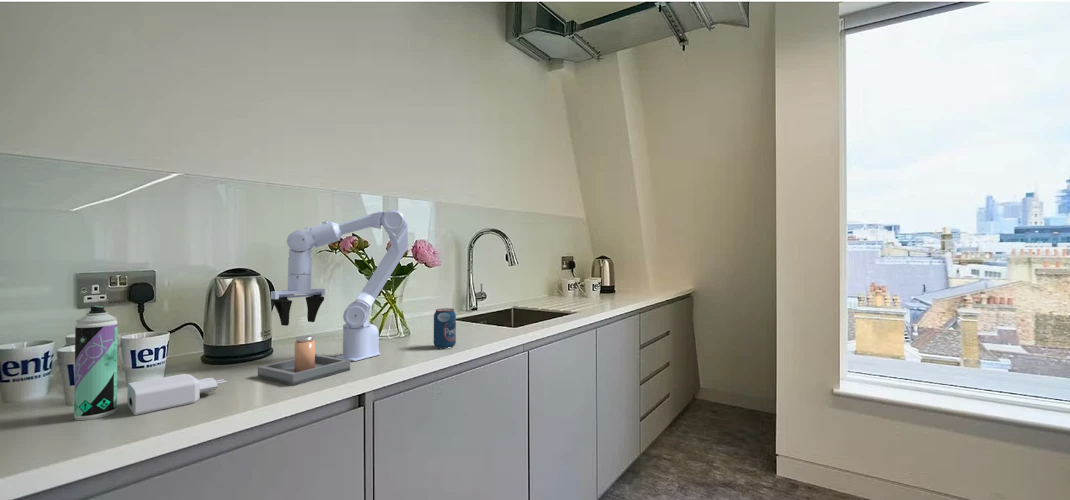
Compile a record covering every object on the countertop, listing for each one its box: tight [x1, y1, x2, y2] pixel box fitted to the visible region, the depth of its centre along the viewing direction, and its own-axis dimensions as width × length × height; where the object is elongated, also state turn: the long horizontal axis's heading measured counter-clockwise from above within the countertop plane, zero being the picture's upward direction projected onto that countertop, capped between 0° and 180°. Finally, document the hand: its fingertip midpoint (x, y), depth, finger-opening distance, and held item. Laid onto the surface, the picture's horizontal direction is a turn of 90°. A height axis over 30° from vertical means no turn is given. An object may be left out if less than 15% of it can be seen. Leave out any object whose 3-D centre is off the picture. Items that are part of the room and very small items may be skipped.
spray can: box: [73, 305, 119, 421], centre depth 79 cm, size 6×6×20 cm
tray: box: [257, 353, 351, 387], centre depth 107 cm, size 15×14×2 cm
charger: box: [126, 373, 228, 416], centre depth 87 cm, size 5×9×15 cm
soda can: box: [433, 308, 457, 349], centre depth 138 cm, size 7×7×12 cm
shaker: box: [294, 335, 316, 372], centre depth 107 cm, size 4×4×8 cm
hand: (298, 323), depth 119 cm, fingers open, 7 cm apart
